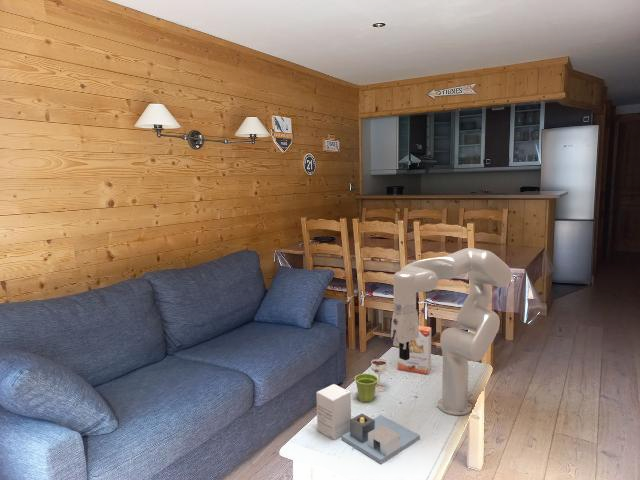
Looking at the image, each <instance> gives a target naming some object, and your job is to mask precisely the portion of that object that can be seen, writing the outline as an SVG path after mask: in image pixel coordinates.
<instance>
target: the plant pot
mask: <svg viewBox="0 0 640 480" xmlns="http://www.w3.org/2000/svg"><path fill="white" fill-rule="evenodd" d="M354 381H355V384H356V389H357V394H358V395H357V396H358V399H359V401H361V402H362V403H366V402H373V401H374V400H375V393H376V391H375V388H376V386H377V384H378V382H379V378H378V376H376V375H374V374H373V373H372V374H371V373H359V374H357V375H356V376H355V377H354Z"/></svg>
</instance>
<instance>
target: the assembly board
mask: <svg viewBox="0 0 640 480" xmlns="http://www.w3.org/2000/svg"><path fill="white" fill-rule="evenodd" d="M372 419H373V420H375V429H376V428H377V427H379V426H381V425H383V426H385V427H387V428H389V429H391V430H392V431H394V432H396V433H398V434H400V448H399V449H397V450H395V451H394V452H392V453H391V454H389V455H388V456H385V455H383V454H381V453H380V445H379V446H377V447H375V448H374V449H373V448H372V447H370V446H368V441H366V442H364V443H361V442H359V441H358V440H356V439H355V438H353V437H351V436H350V431H349V432H347V433H346V434H344V435H342V436H341V441H343V442H345V443H346V444H348V445H350V446H351V447H353V448H354V449H356V450H358V451H359V452H360V453H362V454H364V455H365V456H367V457H368V458H369V459H372V460H373V461H375V462H376V463H378V464H379V465H382V464H383V463H385V462H387V461H389V460H390V459H391V458H393V457H394V456H396V455H397V454H399V453H401V452H402V451H404V450H406V449H407V448H409V447H410V446H411V445H413V444H414V443H416V442H418V441H419V440H420V439H421V435H420V434H418V433H417V432H414V431H412V430H411V429H409V428H407V427H405V426H403V425H401V424H400V423H398V422H396V421H393V420H391V419H390V418H388V417H386V416H384V415H382V414H379V415H377V416H376V417H374V418H372ZM360 423H364V418H363V417H361V418H360Z"/></svg>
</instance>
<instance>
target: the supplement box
mask: <svg viewBox="0 0 640 480" xmlns="http://www.w3.org/2000/svg"><path fill="white" fill-rule="evenodd" d="M315 396H316V419H317V421H316V426H317V431H318V432H319V433H322V434H323V435H325V436H326V437H328V438H330V439H332V440H334V441H335V440H337V439H339V438H340V437H342V435H344V434H346V433H348V432H350V419H352V401H351V399H352V398H351V391H350V390H348V389H345V388H343V387H341V386H339V385H337V384H335V383H333V384H331V385H329V386H327V387H324V388H322V389H320V390H318V391H316V395H315Z"/></svg>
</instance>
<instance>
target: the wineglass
mask: <svg viewBox="0 0 640 480" xmlns="http://www.w3.org/2000/svg"><path fill="white" fill-rule="evenodd" d="M370 363H371V366H370V368H371V371H372V372H374V374H376V375H378V376H377V378H378V385H376V388H375V392H379V393H380V392H385V390H386V387H385V386H382V385H381V375H383V374H385V373H386V372H387V370H388V361H387V360H386V359H384V358H375V359H372V360H371V362H370Z"/></svg>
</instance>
